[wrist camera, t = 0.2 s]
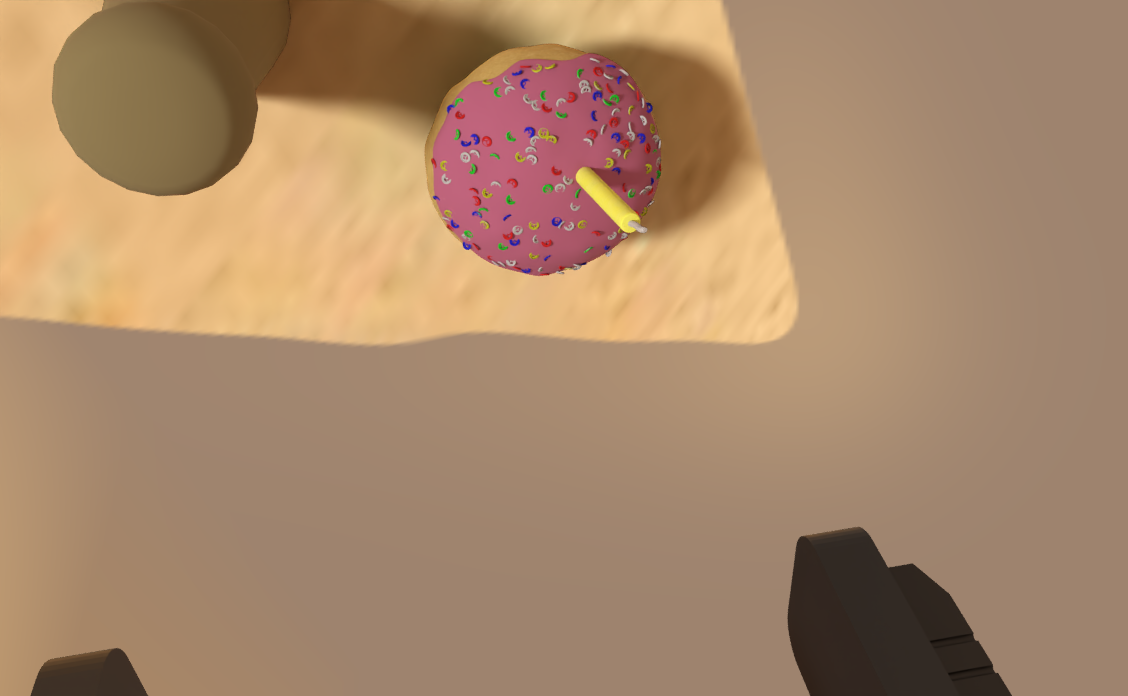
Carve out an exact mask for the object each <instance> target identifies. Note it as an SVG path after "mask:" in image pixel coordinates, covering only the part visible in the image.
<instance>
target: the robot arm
mask: <svg viewBox="0 0 1128 696" xmlns="http://www.w3.org/2000/svg"><path fill="white" fill-rule="evenodd" d="M788 630H789V636H790V641H791V646H792V650H793V653H794V657H795V660H796V662H797V665H798V667H799V670H800V672H801V675H802V677H803V679H804V682H805V684H806V687H807V689H808V691H809V694H810V696H1012V695H1011V694H1010V692H1009V690H1008V688H1007V687H1006V685H1005V684H1004V682H1003V681H1002V679H1001V677H1000V676H999V674H998V673H995V672H994V670H993V664H992V662H991V661H990V659H989V658H988V656H987V654H986V653H985V651H984V649H983V648H982V646H981V645H980V643H979V641H975V639H974V636H973V632H972V630H971V628H970V627H969V625H968V624H967V622H966V620H965V618H964V617H963V615H962V614H961V612H960V610H959V609H958V607H957V606H956V604H955V602H954V601H953V599H952V597H951V596H950V594H949V593H947V592H946V591H945V590H944V589H943V588H941V587H940V586H939V585H938V584H937V583H935V582H934V581H933V580H932V579H931V578H929V577H928V576H927V575H926V574H925V573H923V572H922V571H921V570H920V569H919V568H917V567H916V566H915V565H914V564H907V565H902V566H895V567H890V568H888V567H887V565H886V563H885V561H884V560H883V558H882V556H881V554H880V553H879V551H878V549H877V547H876V546H875V544H874V542H873V540H872V539H871V537H870V536H869V534H868V533H867V532H866V531H865V530H864V529H862V528H861V527H854V528H848V529H842V530H836V531H831V532H825V533H818V534H812V535H806V536H801V537H800V538H799V539H798V542H797V546H796V552H795V561H794V569H793V576H792V584H791V592H790V599H789V607H788ZM31 696H148V695H147V693H146V691H145V689H144V687H143V685H142V684H141V682H140V680H139V678H138V676H137V674H136V672H135V670H134V668H133V667H132V665H131V663H130V661H129V659H128V657H127V656H126V654H125V653H124V652H123V651H122V650H121V649H118V648H115V649H108V650H102V651H96V652H90V653H84V654H79V655H72V656H66V657H60V658H54V659H50V660H48V661H47V662H46V663H44V665H43V666H42V667H41V669H40V671H39V673H38V676H37V679H36V681H35V684H34V687H33V690H32V693H31Z"/></svg>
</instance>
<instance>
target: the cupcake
mask: <svg viewBox="0 0 1128 696" xmlns="http://www.w3.org/2000/svg"><path fill="white" fill-rule="evenodd" d="M652 109H653V108H652V105H651V104H650V103H648V102H647V100H646V98H645V96H644V95H643V93H642V92H641V91H640V89H639V88H638V86H637V85H636V83H635V82H634V80H633V79H632V77H631V76H630V75H629V74H628V73H627V72H626V71H625V70H624V69H623V68H622V67H621V66H619V65H618V64H616V63H615V62H613V61H611V60H609V59H608V58H605V57H603V56H601V55H597V54H592V53H588V54H587V53H585V52H582V51H579V50H576V49H573V48H570V47H566V46H563V45H558V44H542V45H536V46H528V47H518V48H512V49H508V50H505V51H502V52H500V53H498V54H496V55H494V56H493V57H491V58H490V59H488V60H487V61H486V62H484V63H483V64H482V65H480V66H479V67H477V68H476V69H475V70H474V71H473V72H472V73H470V74H469V75H468V76H467V77H466V78H465V79H464V80H462V81H461V82H459V83H458V84H456V85H455V86H454V87H452V88H451V89H450V90H449V91H448V92H447V94H446V95H445V97H444V99H443V101H442V103H441V106H440V108H439V111H438V113H437V116H436V118H435V121H434V123H433V126H432V128H431V130H430V133H429V135H428V138H427V141H426V145H425V165H426V173H427V184H428V190H429V194H430V197H431V200H432V202H433V204H434V206H435V208H436V210H437V212H438V214H439V216H440V217H441V219H442V221H443V222H444V224H445V225H446V227H447V228H448V229H449V231H450V232H451V233H452V234H453V235H454V236H455V237H456V238H457V239H458V240H459V241H460V242H462V243H463V247H464V248H465V249H466V250H469V249H471V250H472V251H473V252H475V253H476V254H477V255H478V256H480V257H481V258H483V259H484V260H486V261H488V262H490V263H492V264H494V265H497V266H499V267H502V268H505V269H509V270H513V271H517V272H522V273H526V274H530V275H535V276H543V275H549V274H552V273H560V274H564V273H563V272H559V271H563V270H567V269H573V270H578V269H580V268H581V266H582V265H585V264H587V262H590V261H592V260H594V259H596V258H598V257H600V256H601V255H603V254H606V256H607V257H609V256H610V255H611V253H612V248H614V247H615V246H616V245H617V244H618V243H620V242H621V241H622V240H624V239H626V238H628V237H627V236H628V234H629V233H632V232H634V231H636V230H637V231H638V232H640V233H646V232H647V228H646V227H643V226H641V225H640V219H641V218H642V216H644V215H645V214H646V213H647V208H648V206H650V205H651V204H652V203H653V202H654V200H653V201H652V199H653V196H654V194H655V191H656V188H657V185H658V181H659V177H660V174H661V172H660V171H661V151H660V146H661V139H659V136H658V131H657V127H656V123H655V120H654V117H653V114H652ZM651 201H652V202H651ZM466 246H467V247H468V248H467V247H466ZM607 252H608V253H609V252H610V253H609V254H607ZM574 267H576V268H574ZM577 267H578V268H577Z"/></svg>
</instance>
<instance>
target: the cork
mask: <svg viewBox="0 0 1128 696" xmlns="http://www.w3.org/2000/svg"><path fill="white" fill-rule="evenodd" d="M290 20H291V17H290V10H289V2H288V0H104V3H103V8H102V11H100V12H97V13H95V14H93V15H92V16H91V17H90V18H89V19H87V20H86V21H85V22H84V23H83V24H82V25H81V26H80V27H78V28H77V29H76V30H75V31H74V32H73V33H72V34H71V35H70V36H69V37H68V38H67V40H66V42H65V44H64V46H63V48H62V50H61V52H60V54H59V56H58V58H57V60H56V62H55V64H54V73H53V88H52V103H53V106H54V110H55V113H56V117H57V120H58V124H59V127H60V130H61V132H62V133H63V135H64V136H65V138H66V139H67V141H68V142H69V144H70V145H71V147H72V148H73V150H74V151H75V153H76V154H77V156H78V157H79V158H81V159H82V160H83V161H84V162H85V163H86V164H88V165H89V166H90V167H91V168H92V169H93V170H94V171H96V172H97V173H98V174H99V175H100V176H102V177H104V178H106V179H108V180H110V181H112V182H114V183H116V184H118V185H120V186H122V187H124V188H126V189H128V190H132V191H136V192H141V193H146V194H151V195H155V196H170V195H187V194H190V193H193V192H195V191H198V190H201V189H204V188H206V187H209V186H212V185H213V184H215V183H216V182H217V181H218V180H220V179H221V178H222V177H223V176H225V175H226V174H227V173H228V172H230V171H231V170H232V169H233V168H235V167H236V166H237V165H238V164H239V162H240V161H241V159H242V157H243V156H244V154H245V152H246V151H247V149H248V147H249V146H250V144H251V142H252V139H253V133H254V128H255V122H256V116H257V111H258V104H257V98H256V92H255V90H256V88H257V87H258V86H259V84H260V83H261V82H262V80H263V79H264V77H265V76H266V75H267V73H268V72H269V71H270V69H271V68H272V67H273V65H274V63H275V62H276V60H277V58H278V57H279V55H280V53H281V52H282V50H283V48H284V47H285V45H286V41H287V36H288V31H289V25H290Z"/></svg>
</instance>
